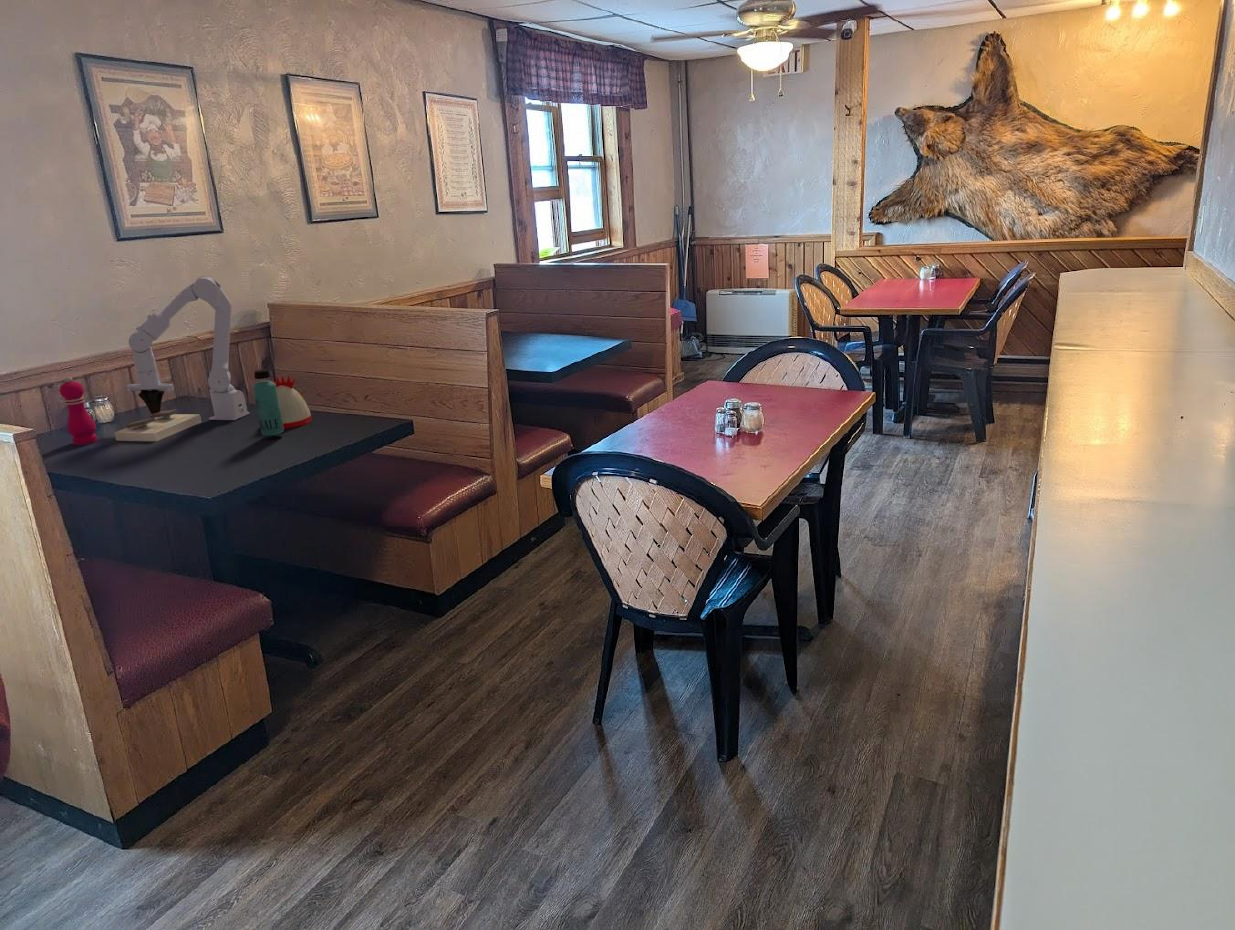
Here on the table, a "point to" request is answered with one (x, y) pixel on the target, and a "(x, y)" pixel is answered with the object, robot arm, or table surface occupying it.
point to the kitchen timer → (291, 404)
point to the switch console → (158, 428)
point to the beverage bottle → (267, 404)
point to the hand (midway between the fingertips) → (156, 413)
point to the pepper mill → (78, 413)
